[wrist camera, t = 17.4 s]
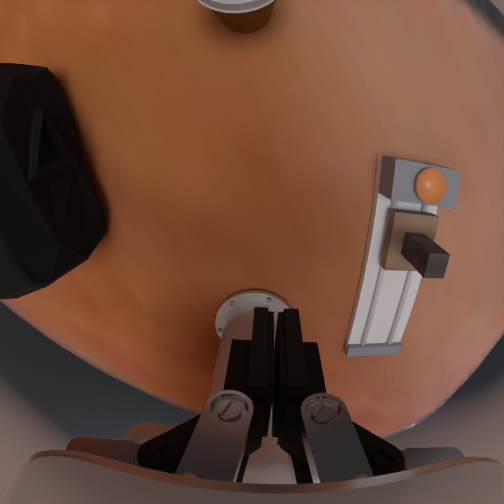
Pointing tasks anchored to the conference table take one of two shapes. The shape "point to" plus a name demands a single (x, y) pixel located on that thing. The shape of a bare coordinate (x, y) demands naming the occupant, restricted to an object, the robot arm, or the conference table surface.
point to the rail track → (389, 281)
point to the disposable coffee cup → (241, 13)
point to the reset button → (430, 185)
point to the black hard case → (41, 184)
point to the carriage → (413, 244)
